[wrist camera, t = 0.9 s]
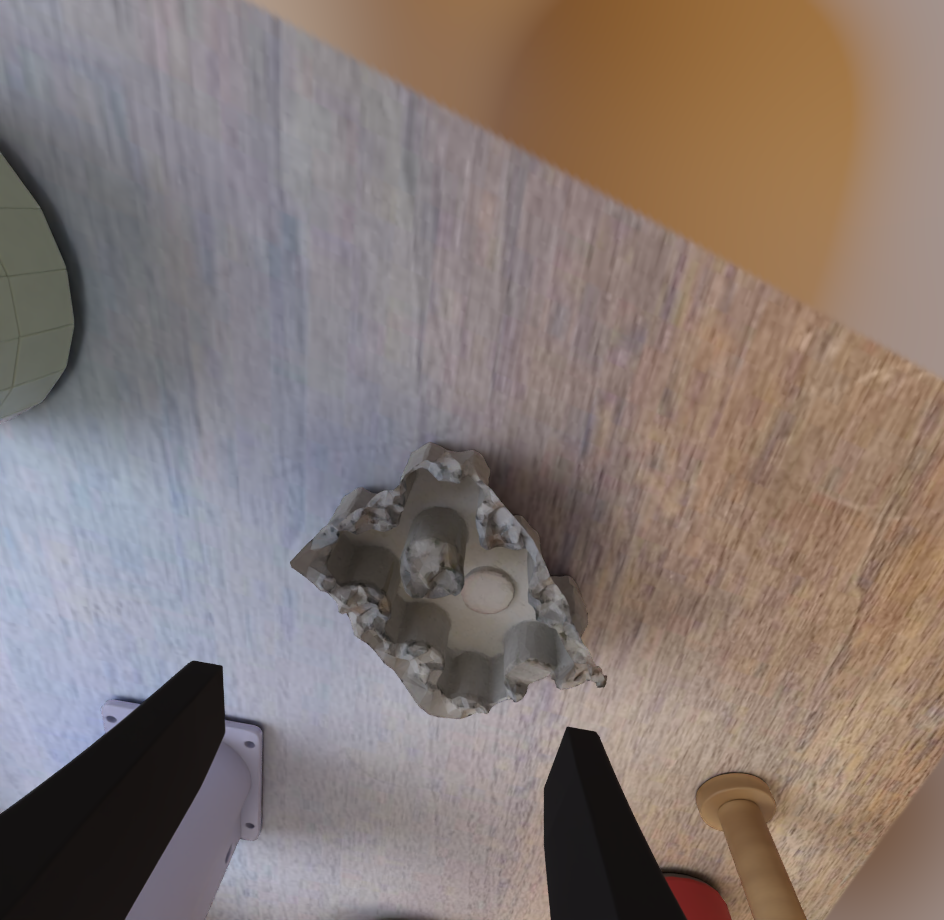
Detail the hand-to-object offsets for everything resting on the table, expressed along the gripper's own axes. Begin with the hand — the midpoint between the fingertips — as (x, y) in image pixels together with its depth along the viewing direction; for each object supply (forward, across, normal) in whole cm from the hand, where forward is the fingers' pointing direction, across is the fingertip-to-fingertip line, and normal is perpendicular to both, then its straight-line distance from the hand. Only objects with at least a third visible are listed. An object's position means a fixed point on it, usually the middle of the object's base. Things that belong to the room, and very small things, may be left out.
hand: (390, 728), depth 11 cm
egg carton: (+10, -1, +3) cm, 11 cm away
